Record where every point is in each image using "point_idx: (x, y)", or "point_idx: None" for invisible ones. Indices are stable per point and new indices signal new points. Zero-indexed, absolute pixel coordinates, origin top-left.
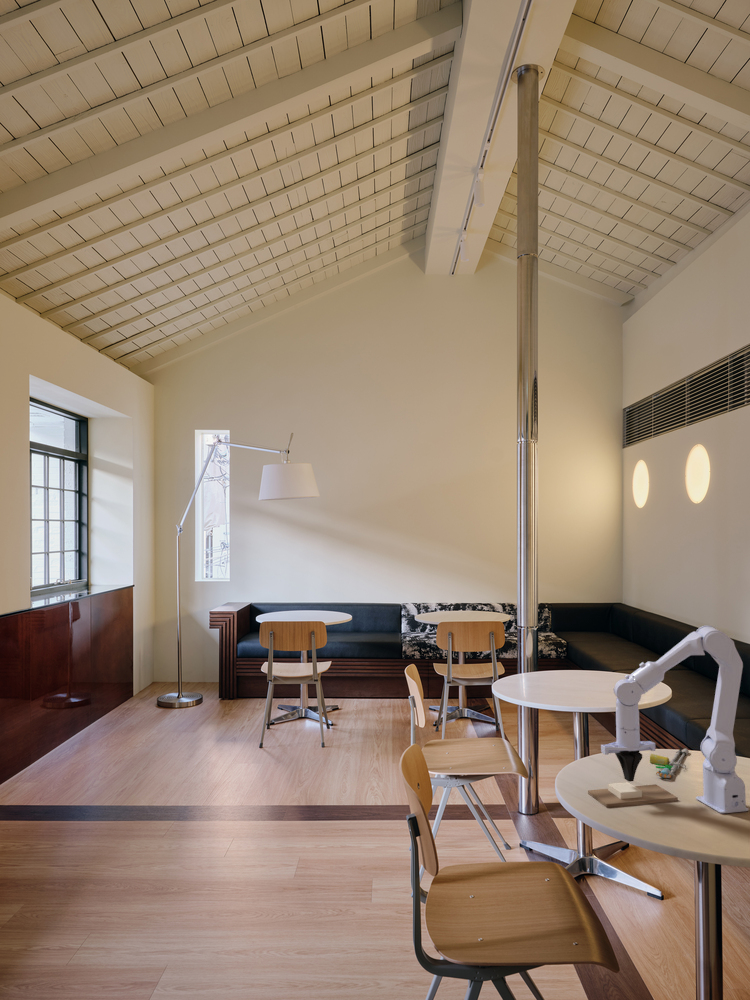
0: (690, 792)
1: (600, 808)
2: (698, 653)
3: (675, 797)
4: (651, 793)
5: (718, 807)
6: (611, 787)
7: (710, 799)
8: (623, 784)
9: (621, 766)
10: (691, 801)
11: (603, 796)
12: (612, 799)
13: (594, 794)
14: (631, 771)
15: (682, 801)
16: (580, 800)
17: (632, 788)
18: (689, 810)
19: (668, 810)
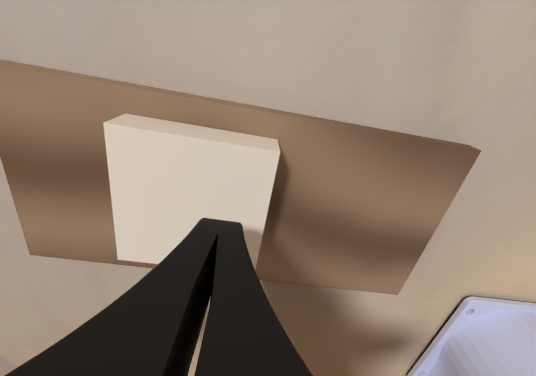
0: (528, 244)
1: (7, 241)
2: None
3: (390, 292)
4: (335, 234)
5: (432, 370)
6: (111, 169)
7: (452, 368)
8: (215, 174)
9: (142, 283)
10: (430, 300)
11: (52, 179)
12: (87, 225)
13: (1, 136)
14: (192, 351)
15: (401, 291)
16: None
17: None
18: (347, 339)
19: (281, 323)
